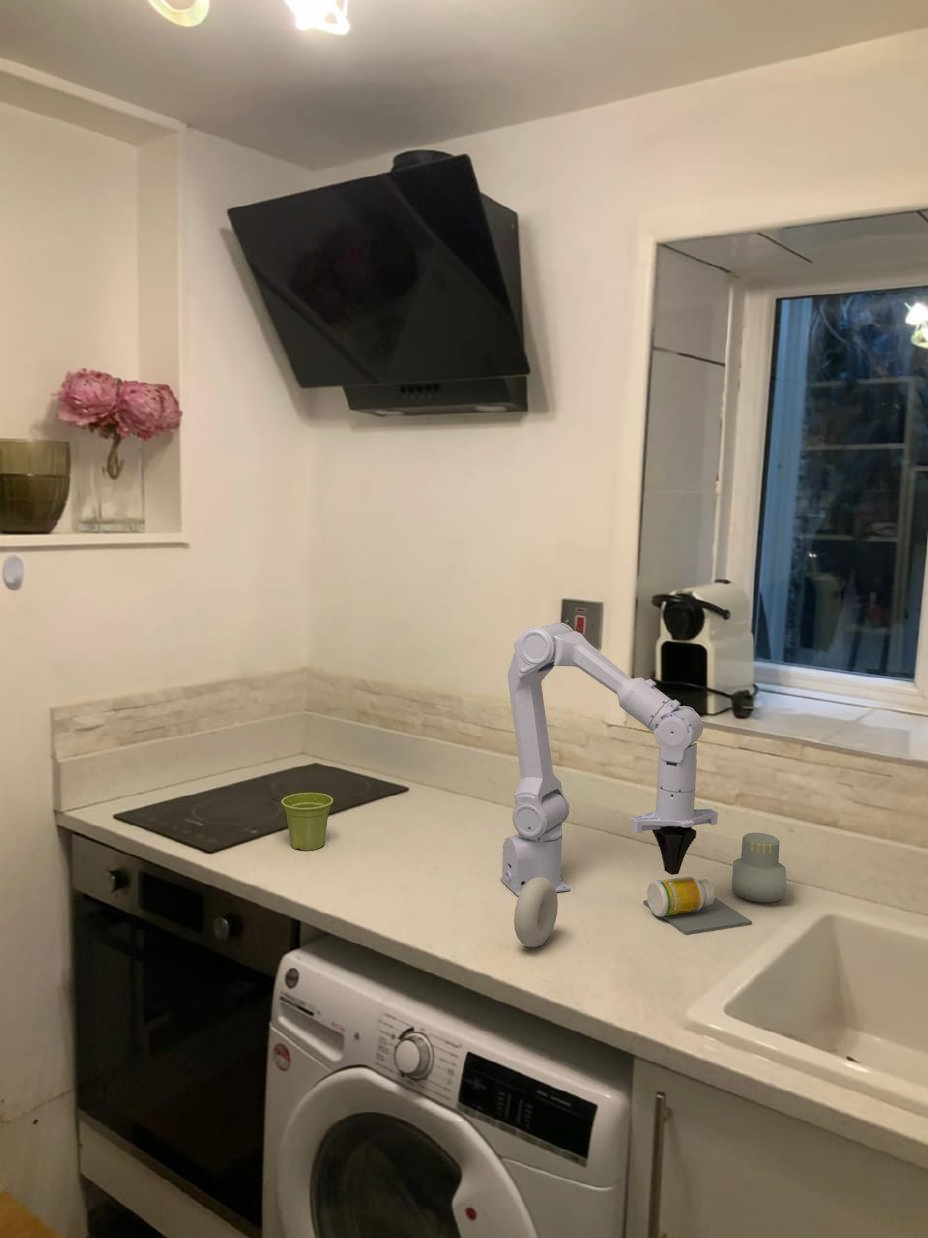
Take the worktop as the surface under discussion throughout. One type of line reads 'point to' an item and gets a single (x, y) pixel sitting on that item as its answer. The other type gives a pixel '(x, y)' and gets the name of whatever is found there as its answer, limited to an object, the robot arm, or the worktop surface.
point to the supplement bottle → (679, 895)
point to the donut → (535, 912)
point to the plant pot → (307, 819)
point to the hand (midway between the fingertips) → (671, 872)
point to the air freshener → (759, 869)
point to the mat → (707, 918)
